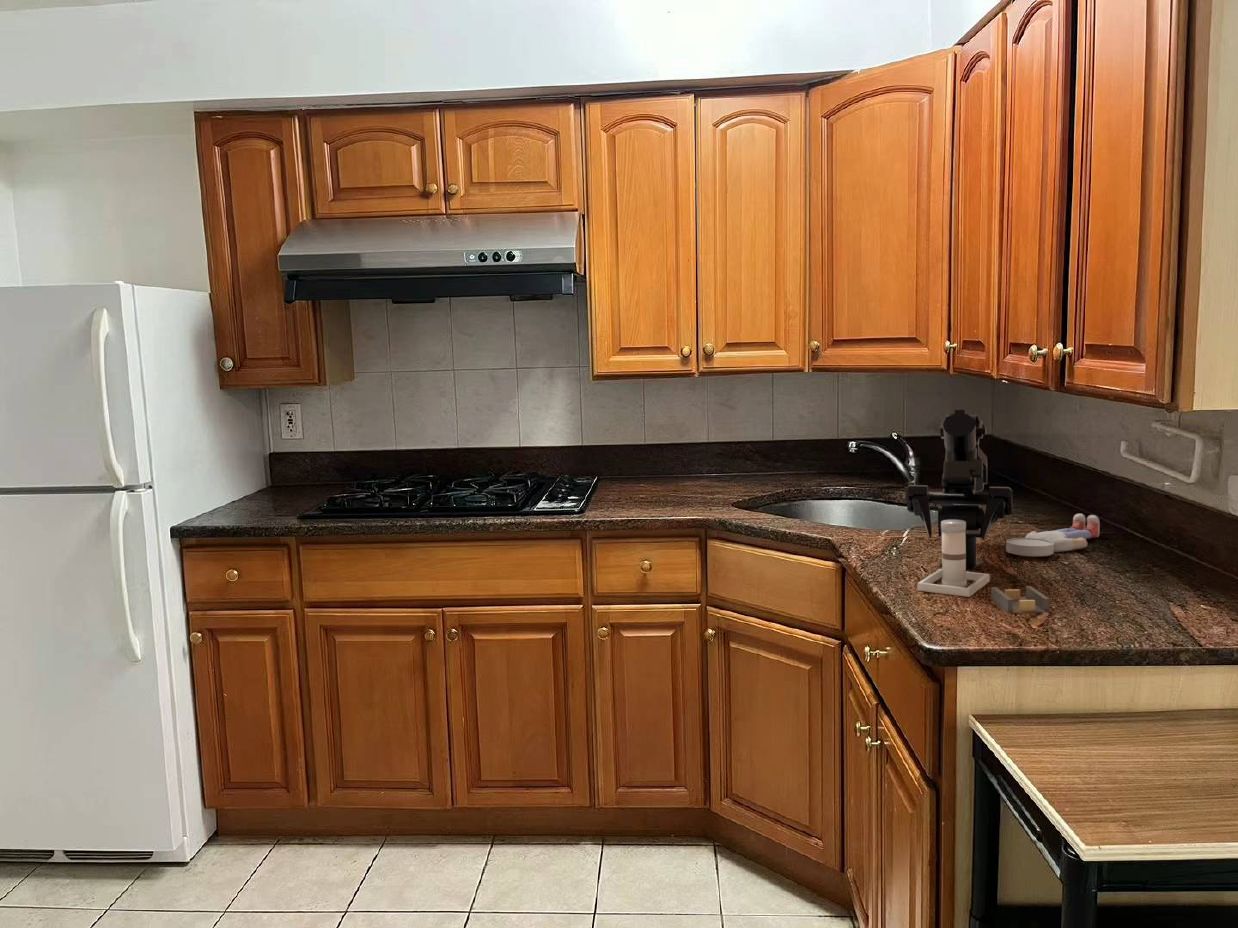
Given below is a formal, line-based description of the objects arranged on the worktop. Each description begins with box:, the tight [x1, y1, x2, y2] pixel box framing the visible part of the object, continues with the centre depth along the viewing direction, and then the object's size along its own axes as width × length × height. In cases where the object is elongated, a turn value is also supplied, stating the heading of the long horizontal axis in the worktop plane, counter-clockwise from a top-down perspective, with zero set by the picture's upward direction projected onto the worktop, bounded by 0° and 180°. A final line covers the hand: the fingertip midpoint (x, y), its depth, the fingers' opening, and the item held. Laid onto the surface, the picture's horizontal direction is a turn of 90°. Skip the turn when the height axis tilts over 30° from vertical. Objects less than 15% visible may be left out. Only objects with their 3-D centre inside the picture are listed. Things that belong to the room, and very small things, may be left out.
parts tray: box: [916, 568, 991, 598], centre depth 173 cm, size 12×9×2 cm
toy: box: [1005, 513, 1100, 557], centre depth 205 cm, size 6×13×30 cm
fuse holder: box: [988, 585, 1053, 614], centre depth 160 cm, size 9×7×3 cm
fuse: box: [941, 520, 968, 588], centre depth 173 cm, size 4×4×12 cm
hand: (956, 537), depth 177 cm, fingers open, 9 cm apart
